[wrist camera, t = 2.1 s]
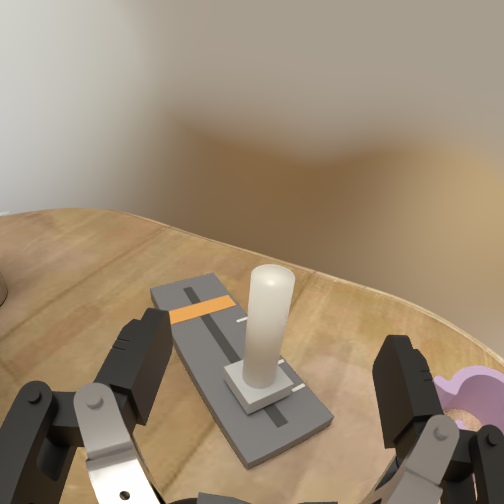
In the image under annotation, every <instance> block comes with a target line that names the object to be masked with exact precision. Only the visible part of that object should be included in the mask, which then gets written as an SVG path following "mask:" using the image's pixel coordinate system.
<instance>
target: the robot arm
mask: <svg viewBox="0 0 504 504" xmlns="http://www.w3.org/2000/svg"><path fill="white" fill-rule="evenodd" d="M6 295H7V288H6V286H5V283H4V281H3V278H2V275H1V273H0V305H1V304H2V303H3V301H4V300H5V298H6ZM112 347H113V348H112V349H111V350H110V352H109V354H108V356H107V358H106V359H105V361H104V363H103V365H102V367H101V369H100V371H99V373H98V375H97V377H96V378H95V380H94V382H93V383H89V384H86V385H84V386H82V387H81V388H80V389H79V390H78V391H77V392H55V391H52V390H51V389H50V387H49V386H48V385H47V384H46V383H44V382H42V381H31V382H29V383H27V384H25V385H24V386H23V387H22V388H21V389H20V391H19V393H18V395H17V396H16V398H15V400H14V402H13V404H12V406H11V408H10V410H9V412H8V414H7V416H6V418H5V420H4V422H3V424H2V426H1V429H0V504H59V502H60V498H61V495H62V492H63V488H64V485H65V482H66V479H67V476H68V473H69V470H70V467H71V464H72V461H73V458H74V455H75V452H76V449H77V447H85V449H86V452H87V456H88V459H87V460H86V466H87V470H88V473H89V476H90V479H91V482H92V485H93V487H94V490H95V493H96V495H97V498H98V500H99V503H100V504H167V503H166V501H165V499H164V497H163V495H162V493H161V492H160V490H159V488H158V486H157V484H156V482H155V481H154V479H153V477H152V475H151V473H150V471H149V469H148V467H147V465H146V463H145V460H144V458H143V456H142V454H141V452H140V449H139V447H138V445H137V442H136V440H135V438H134V435H133V431H134V428H135V425H136V424H140V425H144V426H146V423H147V420H148V417H149V414H150V411H151V409H152V406H153V403H154V400H155V397H156V395H157V392H158V389H159V386H160V383H161V381H162V378H163V375H164V372H165V370H166V367H167V364H168V362H169V359H170V356H171V353H172V347H173V337H172V330H171V322H170V314H169V311H166V310H160V309H154V308H147V310H146V311H145V313H144V315H143V317H142V319H141V320H136V319H133V320H131V321H130V322H129V323H128V324H127V325H125V326H124V327H123V328H122V330H121V332H120V334H119V335H118V337H117V340H116V341H115V343H114V345H113V346H112ZM429 371H430V370H429V367H428V364H427V361H426V359H425V358H424V356H423V355H422V354H421V353H420V351H419V350H418V349H413V347H412V344H411V342H410V339H409V337H408V336H407V335H388V336H387V337H386V339H385V341H384V343H383V345H382V347H381V349H380V351H379V353H378V355H377V357H376V359H375V361H374V364H373V371H372V374H373V381H374V386H375V391H376V397H377V402H378V408H379V414H380V420H381V426H382V432H383V439H384V446H385V449H386V448H395V449H396V454H395V455H394V457H393V458H392V460H391V461H390V463H389V464H388V466H387V468H386V469H385V471H384V472H383V474H382V475H381V477H380V478H379V480H378V481H377V483H376V484H375V486H374V487H373V489H372V490H371V491H370V493H369V494H368V495H367V496H366V497H365V498H364V499H363V500H362V501H361V502H360V503H359V504H437V503H438V501H439V499H440V501H441V504H504V435H503V433H502V431H501V430H500V429H499V428H498V427H497V426H495V425H491V424H488V425H485V426H483V427H482V428H481V429H480V430H478V431H477V432H475V431H469V430H464V429H459V428H458V426H457V424H456V423H455V421H454V420H453V419H451V418H450V417H448V416H446V415H444V413H443V410H442V407H441V403H440V400H439V397H438V394H437V391H436V388H435V384H434V381H432V380H433V378H432V375H431V373H430V372H429ZM473 474H474V475H475V482H476V488H477V501H476V495H475V488H474V481H473ZM169 504H251V503H248V502H245V501H242V500H239V499H236V498H233V497H225V496H219V495H212V494H206V493H201V492H199V494H198V498H189V499H182V500H178V501H175V502H172V503H169ZM299 504H338V502H304V503H299Z"/></svg>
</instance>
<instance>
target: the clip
mask: <svg viewBox="0 0 504 504" xmlns="http://www.w3.org/2000/svg"><path fill="white" fill-rule="evenodd" d="M433 381H434V384H435V388H436V391H437V394H438V397H439V400H440V403H441V407H442V410H446V409H451V408H457V409H462V410H465V411H467V412H469V413H471V414H472V415H474V416H475V417H476V418H477V419H478V420H479V421H480V422H481V424H482V425H483V426H485V425H488V424H491V425H495V426H497V427H498V428H499V429H500V430H501V431H502V433H503V435H504V375H503V374H502V373H500V372H498V371H497V370H494V369H492V368H489V367H485V366H470V367H466V368H464V369H462V370H460V371H458V372H457V373H456V374H455V375H454V376H453V378H452V379H451V380H450V381H447V380H445V379H444V378H443V377H441V376H439V375H438V376H436V377H435V378H434V379H433ZM455 423H456V424H457V426H458V428H459V429H464V430H467V429H466V428H465V426H464V424H463V423H462V421H460V420H456V421H455ZM473 481H474V482H475V475H474V474H473Z"/></svg>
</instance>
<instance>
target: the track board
mask: <svg viewBox="0 0 504 504" xmlns="http://www.w3.org/2000/svg"><path fill="white" fill-rule="evenodd" d="M150 292H151V299H152V301H153V304H154V306H155V308H156V309H160V310H166V311H169V314H170V322H171V330H172V337H173V345H174V347H175V349H176V351H177V353H178V355H179V357H180V359H181V361H182V362H183V364H184V366H185V368H186V370H187V372H188V374H189V376H190V377H191V379H192V381H193V383H194V385H195V386H196V388H197V390H198V392H199V394H200V395H201V397H202V399H203V401H204V402H205V404H206V406H207V408H208V409H209V411H210V413H211V414H212V416H213V418H214V419H215V421H216V423H217V424H218V426H219V428H220V429H221V431H222V433H223V434H224V436H225V437H226V439H227V441H228V442H229V444H230V445H231V447H232V448H233V450H234V451H235V453H236V455H237V456H238V458H239V459H240V461H241V462H242V464H243V465H244V467H245V468H246V470H248V469H250V468H252V467H254V466H256V465H258V464H260V463H262V462H264V461H266V460H268V459H270V458H272V457H274V456H276V455H278V454H280V453H282V452H284V451H286V450H288V449H290V448H291V447H293V446H295V445H297V444H299V443H300V442H302V441H304V440H306V439H308V438H309V437H311V436H313V435H314V434H316V433H318V432H319V431H321V430H323V429H324V428H326V427H328V426H329V425H330V423H331V422H332V420H333V418H334V416H333V414H332V413H331V412H330V411H329V410H328V409H327V408H326V407H325V405H324V404H323V403H322V402H321V401H320V400H319V399H318V398H317V396H316V395H315V394H314V393H313V392H312V391H311V390H310V388H309V387H308V386H307V385H306V384H305V383H304V382H303V380H302V379H301V378H300V377H299V376H298V375H297V374H296V372H295V371H294V370H293V369H292V368H291V367H290V365H289V364H288V363H287V362H286V361H285V360H284V358H283V357H282V356H281V355H280V356H279V361H278V365H279V367H280V368H281V369H282V370H283V371H284V373H285V374H286V375H287V376H288V377H289V379H290V380H291V381H292V382H293V383H294V384H293V388H292V391H291V394H290V395H288V396H286V397H284V398H282V399H280V400H278V401H276V402H274V403H272V404H270V405H268V406H265V407H263V408H261V409H259V410H257V411H254V412H252V413H250V414H247V413H246V411H245V410H244V409H243V407H242V406H241V404H240V403H239V401H238V400H237V398H236V397H235V395H234V394H233V392H232V391H231V389H230V388H229V386H228V385H227V383H226V381H225V380H224V367H225V366H228V365H230V364H233V363H236V362H238V361H241V360H243V359H244V348H245V337H246V327H247V316H248V315H247V314H246V313H245V312H244V310H243V309H242V308H241V307H240V305H239V304H238V303H237V302H236V301H235V299H234V298H233V297H232V296H231V294H230V293H229V292H228V291H227V289H226V288H225V287H224V286H223V284H222V283H221V282H220V281H219V279H218V278H217V277H216V276H215V274H214V273H210V274H206V275H202V276H198V277H194V278H190V279H186V280H182V281H178V282H174V283H170V284H166V285H162V286H158V287H154V288H150Z"/></svg>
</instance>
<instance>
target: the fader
mask: <svg viewBox="0 0 504 504" xmlns="http://www.w3.org/2000/svg"><path fill="white" fill-rule="evenodd" d="M294 283H295V276H294V274H293V273H292V272H291V271H290V270H289V269H287V268H285V267H283V266H279V265H274V264H266V265H261V266H258V267H256V268H255V269H254V270H253V271H252V274H251V284H250V295H249V305H248V316H247V327H246V337H245V348H244V359H243V360H241V361H238V362H236V363H233V364H230V365H228V366H225V367H224V380H225V381H226V383H227V385H228V386H229V388H230V389H231V391H232V392H233V394H234V395H235V397H236V398H237V400H238V401H239V403H240V404H241V406H242V407H243V409H244V410H245V411H246V413H247V414H250V413H252V412H254V411H257V410H259V409H261V408H263V407H265V406H268V405H270V404H272V403H274V402H276V401H278V400H280V399H282V398H284V397H286V396H288V395H290V394H291V391H292V388H293V384H294V383H293V382H292V381H291V380H290V379H289V377H288V376H287V375H286V374H285V373H284V371H283V370H282V369H281V368H280V367H279V365H278V361H279V356H280V352H281V347H282V342H283V338H284V333H285V328H286V323H287V318H288V313H289V308H290V303H291V298H292V293H293V288H294Z"/></svg>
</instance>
